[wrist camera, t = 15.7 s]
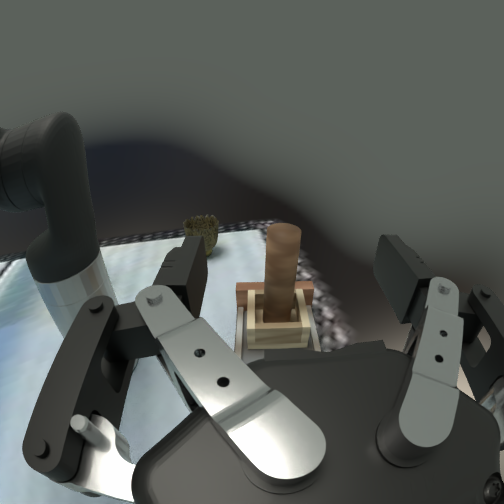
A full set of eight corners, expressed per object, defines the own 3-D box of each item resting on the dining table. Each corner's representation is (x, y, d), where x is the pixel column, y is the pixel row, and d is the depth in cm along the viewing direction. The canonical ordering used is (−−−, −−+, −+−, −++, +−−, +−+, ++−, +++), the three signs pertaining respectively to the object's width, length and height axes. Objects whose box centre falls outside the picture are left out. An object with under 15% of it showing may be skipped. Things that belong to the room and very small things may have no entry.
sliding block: (307, 347, 36) (310, 326, 34) (247, 349, 36) (246, 328, 34) (300, 308, 42) (302, 288, 40) (248, 310, 43) (247, 289, 41)
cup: (224, 259, 59) (221, 225, 55) (189, 265, 57) (184, 230, 53) (217, 244, 65) (214, 212, 61) (186, 249, 63) (182, 217, 59)
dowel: (256, 319, 39) (260, 230, 32) (273, 306, 42) (279, 220, 35) (279, 332, 37) (289, 241, 30) (295, 317, 39) (307, 229, 33)
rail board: (329, 414, 28) (340, 392, 25) (231, 419, 28) (226, 397, 25) (308, 307, 45) (311, 281, 42) (238, 309, 45) (236, 282, 42)
